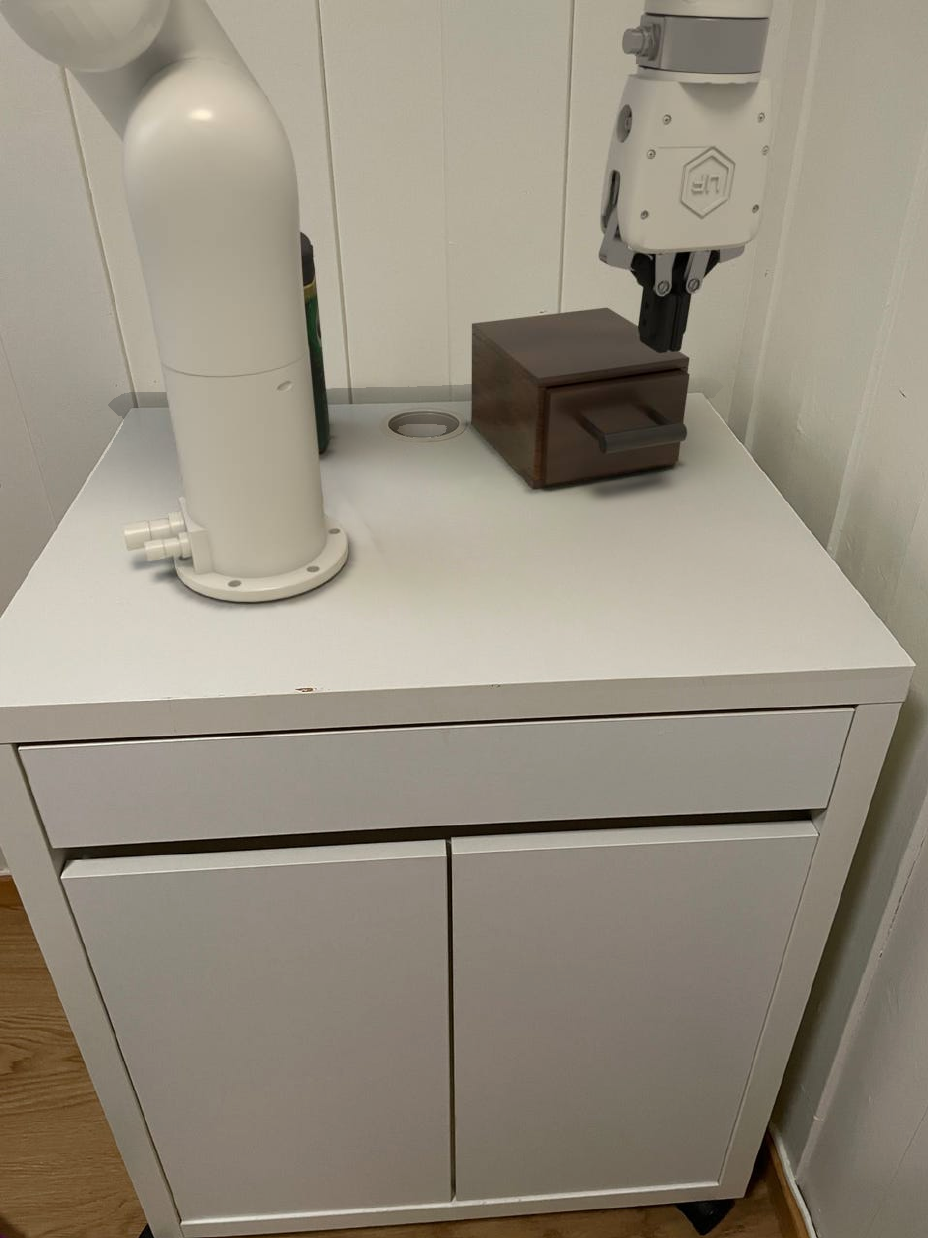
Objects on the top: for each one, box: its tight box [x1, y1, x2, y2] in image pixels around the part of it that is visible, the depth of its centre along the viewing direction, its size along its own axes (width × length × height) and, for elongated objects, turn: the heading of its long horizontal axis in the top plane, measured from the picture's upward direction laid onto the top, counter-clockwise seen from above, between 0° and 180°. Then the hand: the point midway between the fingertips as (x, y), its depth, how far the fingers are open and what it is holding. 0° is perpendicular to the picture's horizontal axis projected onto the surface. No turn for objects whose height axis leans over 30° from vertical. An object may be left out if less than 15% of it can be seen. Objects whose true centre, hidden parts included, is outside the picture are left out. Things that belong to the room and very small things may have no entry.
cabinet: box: [470, 307, 690, 490], centre depth 86 cm, size 15×14×10 cm
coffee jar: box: [300, 230, 331, 453], centre depth 84 cm, size 10×8×19 cm
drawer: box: [540, 370, 690, 484], centre depth 83 cm, size 18×12×8 cm
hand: (659, 345), depth 70 cm, fingers closed
